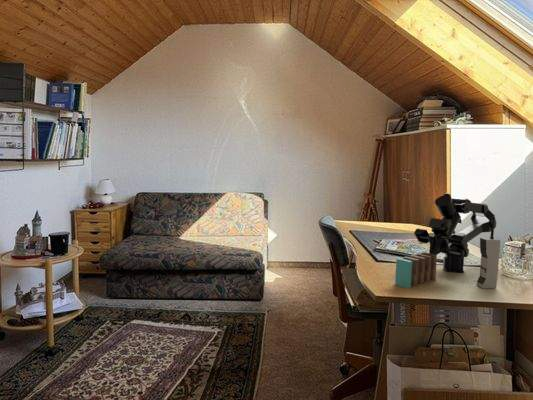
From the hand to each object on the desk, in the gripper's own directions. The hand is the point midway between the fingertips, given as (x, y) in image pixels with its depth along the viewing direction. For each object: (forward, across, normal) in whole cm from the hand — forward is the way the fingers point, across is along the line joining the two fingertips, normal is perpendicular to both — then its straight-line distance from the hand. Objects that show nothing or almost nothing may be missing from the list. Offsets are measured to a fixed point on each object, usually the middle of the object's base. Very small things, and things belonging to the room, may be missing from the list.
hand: (430, 256), depth 155 cm
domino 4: (+9, 0, +2) cm, 9 cm away
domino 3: (+12, 0, 0) cm, 12 cm away
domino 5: (+6, 0, +5) cm, 8 cm away
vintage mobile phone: (+1, +17, +10) cm, 20 cm away
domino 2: (+14, 0, -3) cm, 15 cm away
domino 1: (+17, 0, -6) cm, 18 cm away
